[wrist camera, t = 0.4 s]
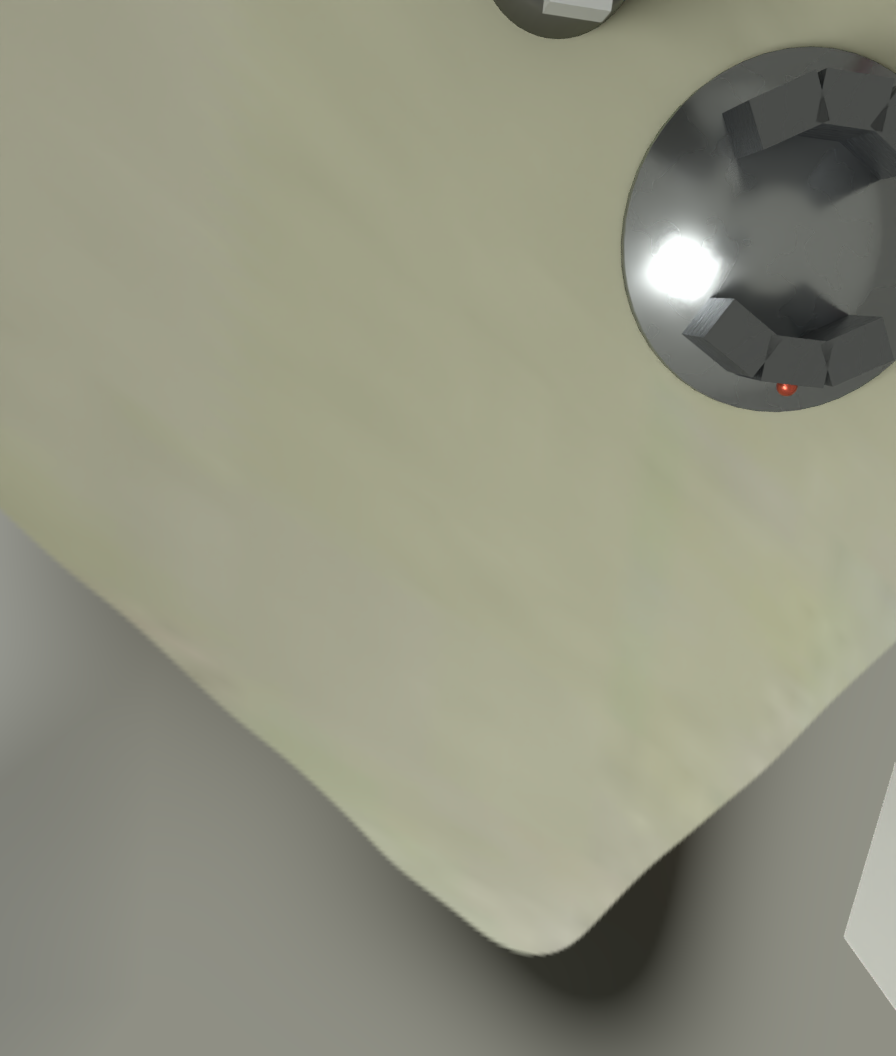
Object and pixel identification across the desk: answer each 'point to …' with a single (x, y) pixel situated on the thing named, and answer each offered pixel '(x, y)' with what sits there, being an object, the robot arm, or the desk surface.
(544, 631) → the desk surface
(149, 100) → the desk surface
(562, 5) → the dark grey short cylinder
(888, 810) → the robot arm
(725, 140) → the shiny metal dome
